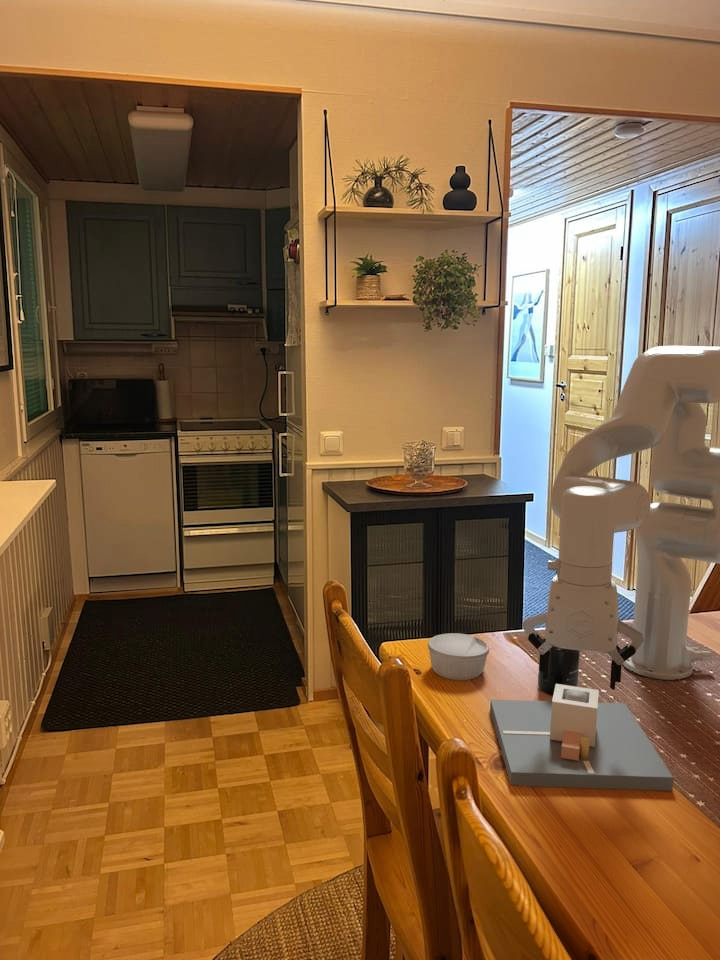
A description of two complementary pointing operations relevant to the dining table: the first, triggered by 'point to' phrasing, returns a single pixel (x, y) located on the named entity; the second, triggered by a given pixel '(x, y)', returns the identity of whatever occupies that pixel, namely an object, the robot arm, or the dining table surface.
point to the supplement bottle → (560, 669)
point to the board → (608, 765)
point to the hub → (573, 720)
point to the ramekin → (458, 655)
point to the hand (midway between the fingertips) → (579, 680)
